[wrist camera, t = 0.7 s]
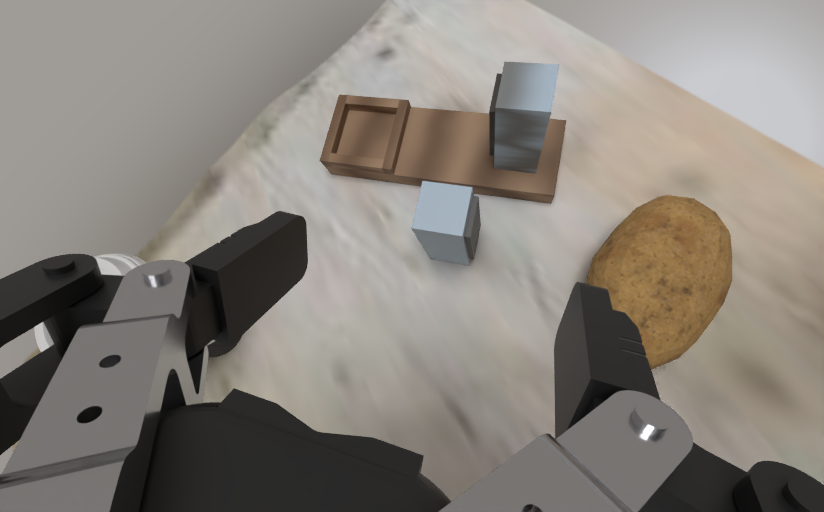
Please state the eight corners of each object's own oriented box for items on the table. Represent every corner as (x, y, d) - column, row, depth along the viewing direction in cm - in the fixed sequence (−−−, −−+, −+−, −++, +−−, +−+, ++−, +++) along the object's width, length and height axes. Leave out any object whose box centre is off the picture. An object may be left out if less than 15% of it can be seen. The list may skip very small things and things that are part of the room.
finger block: (481, 228, 39) (478, 188, 30) (474, 266, 39) (468, 237, 29) (438, 221, 41) (422, 180, 31) (430, 258, 40) (411, 227, 30)
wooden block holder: (562, 131, 40) (591, 43, 29) (551, 203, 39) (576, 139, 27) (349, 111, 46) (302, 31, 35) (331, 173, 44) (276, 110, 33)
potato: (553, 339, 36) (570, 335, 28) (608, 205, 38) (637, 167, 30) (667, 390, 33) (719, 400, 25) (719, 242, 35) (782, 211, 27)
